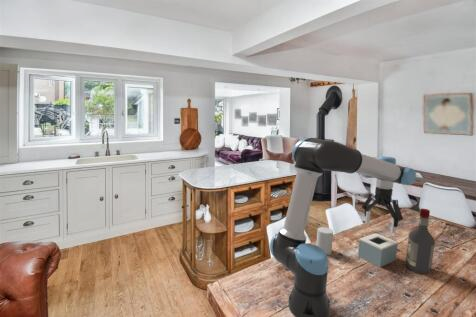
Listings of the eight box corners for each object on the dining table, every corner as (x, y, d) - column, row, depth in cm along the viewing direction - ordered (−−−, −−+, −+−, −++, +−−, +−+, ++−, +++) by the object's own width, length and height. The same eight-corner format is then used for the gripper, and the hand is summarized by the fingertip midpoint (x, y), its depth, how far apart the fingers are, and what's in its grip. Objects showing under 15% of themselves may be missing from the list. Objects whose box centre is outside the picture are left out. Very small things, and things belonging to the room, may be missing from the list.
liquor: (424, 265, 132) (432, 207, 127) (432, 275, 123) (440, 214, 118) (403, 262, 134) (410, 205, 130) (410, 271, 125) (417, 212, 121)
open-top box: (379, 267, 129) (381, 248, 127) (358, 256, 139) (359, 238, 137) (395, 260, 136) (397, 242, 134) (373, 250, 146) (375, 233, 144)
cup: (332, 255, 139) (334, 234, 138) (316, 253, 141) (318, 232, 139) (330, 248, 147) (331, 227, 145) (315, 246, 149) (316, 226, 147)
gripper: (414, 192, 123) (409, 235, 126) (365, 181, 144) (361, 218, 147) (406, 194, 119) (400, 238, 122) (357, 182, 140) (353, 220, 143)
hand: (379, 227), depth 135 cm, fingers open, 13 cm apart
